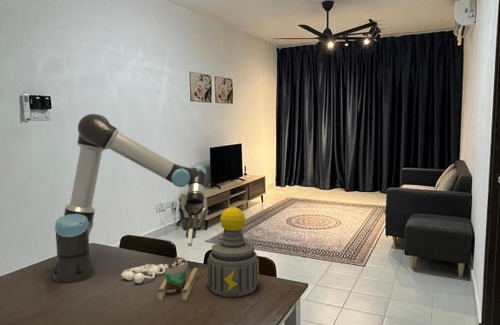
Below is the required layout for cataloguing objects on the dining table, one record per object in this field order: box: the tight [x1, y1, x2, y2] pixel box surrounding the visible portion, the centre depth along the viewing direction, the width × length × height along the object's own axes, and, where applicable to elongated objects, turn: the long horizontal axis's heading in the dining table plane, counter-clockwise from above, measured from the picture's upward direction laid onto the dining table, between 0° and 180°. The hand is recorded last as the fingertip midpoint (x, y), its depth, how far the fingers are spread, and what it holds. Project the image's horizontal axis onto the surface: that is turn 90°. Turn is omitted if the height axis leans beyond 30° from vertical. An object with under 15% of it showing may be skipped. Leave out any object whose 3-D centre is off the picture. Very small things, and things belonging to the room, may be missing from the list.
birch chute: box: [156, 267, 198, 302], centre depth 143 cm, size 10×22×4 cm, turn 178°
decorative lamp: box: [206, 206, 260, 298], centre depth 142 cm, size 19×19×30 cm
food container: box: [164, 256, 189, 295], centre depth 141 cm, size 12×6×10 cm, turn 173°
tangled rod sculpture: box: [121, 263, 169, 284], centre depth 155 cm, size 19×14×4 cm
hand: (189, 244), depth 157 cm, fingers closed
